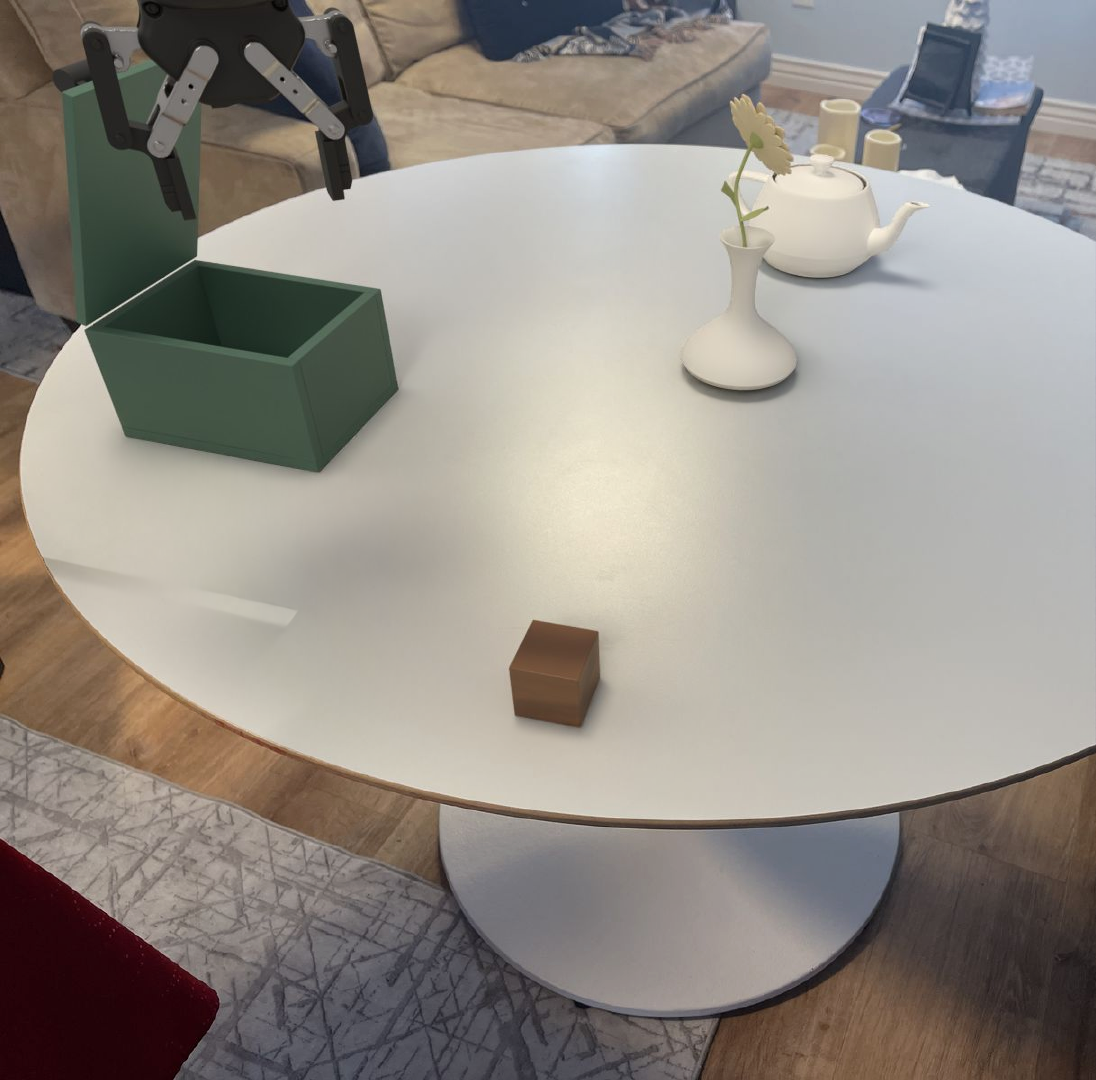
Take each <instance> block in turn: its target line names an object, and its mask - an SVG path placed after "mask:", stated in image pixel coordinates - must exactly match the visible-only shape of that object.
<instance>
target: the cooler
mask: <svg viewBox="0 0 1096 1080" xmlns="http://www.w3.org/2000/svg"><path fill="white" fill-rule="evenodd" d="M83 331H84V334H85V336H86V339H87V342H88V344H89V346H90V349H91V351H92V354H93V357H94V359H95V361H96V365H97V367H98V369H99V372H100V375H101V377H102V379H103V382H104V385H105V387H106V390H107V393H108V395H109V398H110V400H111V403H112V405H113V408H114V410H115V413H116V416H117V418H118V421H119V423H120V426H121V429H122V431H123V434H124V436H125V437H128V438H134V439H139V440H145V441H149V442H155V443H159V444H160V443H161V444H165V445H170V446H176V447H181V448H186V449H193V450H197V451H203V452H209V453H213V454H217V455H223V456H230V457H235V458H240V459H245V460H251V461H256V462H262V463H266V464H272V465H277V466H283V467H287V468H294V469H298V470H299V469H300V470H304V471H309V472H314V473H320V472H321V471H322V470H323V469H324V467H325V466H327V465H328V463H329V462H330V461H331V460H332V459H333V458H334V457H335V456H336V455H337V454H338V453H339V452H340V450H342V448H344V446H345V445H346V444H348V443H349V441H350V440H351V439H352V438H354V436H355V435H356V434H357V432H359V431H360V429H361V428H362V427H363V426H365V425H366V423H368V422H369V420H370V419H371V418H372V417H373V416H374V415H375V414H376V413H377V412H378V411H379V410H380V409H381V408H382V407H383V406H384V404H385V403H386V402H388V400H389V399H390V398H391V397H392V396H393V395H394V394H395V393H396V392H397V391H398V390H399V384H398V379H397V378H398V377H397V373H396V367H395V362H394V356H393V351H392V346H391V339H390V334H389V329H388V323H387V317H386V311H385V306H384V299H383V295H382V289H381V288H377V287H370V286H365V285H364V286H363V285H358V284H351V283H346V282H345V283H344V282H339V281H338V282H337V281H332V280H326V279H320V278H313V277H308V276H300V275H294V274H290V273H289V274H288V273H281V272H276V271H270V270H269V271H268V270H262V269H257V268H256V269H255V268H251V267H243V266H238V265H230V264H225V263H220V262H219V263H218V262H212V261H205V260H199V259H193V260H191V261H190V262H188V264H187V263H186V264H185V265H183V266H181V267H180V268H178V269H177V270H175V271H173V272H172V273H170V274H169V275H167V276H166V277H164V278H162V279H161V280H159V281H158V282H156V283H155V284H153V285H151V286H150V287H148V288H147V289H145V290H143V291H142V292H140V293H139V294H137V295H136V296H134V297H132V298H131V299H129V300H128V301H126V302H125V303H123V304H121V305H120V306H118V307H117V308H115V309H113V310H112V311H110V312H109V313H107V314H106V315H104V316H102V317H101V318H99V319H98V320H96V321H95V322H93V324H90V325H89V326H87V327H86V328H85V329H84V330H83Z"/></svg>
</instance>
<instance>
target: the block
mask: <svg viewBox="0 0 1096 1080" xmlns="http://www.w3.org/2000/svg"><path fill="white" fill-rule="evenodd" d="M599 633H600V632H599V631H598V630H594V629H589V628H583V627H578V626H572V625H565V624H561V623H554V622H549V621H544V620H536V619H532V620H531V622H530V624H529V626H528V628H527V630H526V633H525V635H524V637H523V639H522V641H521V643H520V645H519V647H518V649H517V651H516V653H515V655H514V657H513V659H512V661H511V663H510V665H509V667H508V672H509V673H508V674H509V681H510V688H511V697H512V706H513V712H514V713H513V714H514V716H516V717H520V718H527V719H532V720H536V721H537V720H538V721H543V722H547V723H553V724H559V725H564V726H569V727H573V728H580V729H581V728H582V726H583V723H584V721H585V718H586V716H587V713H588V710H589V708H590V705H591V703H592V701H593V697H594V695H595V693H596V691H597V687H598V686H599V683H600V680H601V664H600V663H601V662H600V661H601V657H600V635H599Z"/></svg>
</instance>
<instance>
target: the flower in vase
mask: <svg viewBox="0 0 1096 1080" xmlns="http://www.w3.org/2000/svg"><path fill="white" fill-rule="evenodd" d="M729 106H730V108H731V109H730V112H731V115H732V118H731V119H732V122H733V125H734V126H735V128H736V129H737V130H738V131H739V135H740V137H741V139H742V140H743V142H745V144H746V147H747V149H746V150H745V151H746V152H745V153H744V156H743V158H742V161H741V164H740V166H739V168H738V170H739V171H738V174H737V177H736V180H735V185H734V192H733V190H732V189H731V188H730V186H729V185H728V183H727V182H728V181H726V180H724V182H723V185H722V187H721V188H720V192H722V193H723V194H725V195H726V196H727V197H728V198H729V199H730V200H731V202H732V204H733V203H734V204H733V206H734V205H735V206H736V207H735V206H734V207H735V209H736V213H737V218H738V222H739V225H738V226H737V225H735V226H730V227H727V228H725V229H723V230H721V231H720V232H719V235H718V239H719V240H720V242H721V243H722V245H723V246H724V248H725V250H726V252H727V255H728V258H729V264H730V273H731V291H730V299H729V304H728V307H727V308H726V310H725V311H724V312H723V313H722V314H720V315H718V316H717V317H715V318H713V319H711V320H709V321H708V322H705V323H704V324H703V325H701V326H699V327H698V328H697V329H695V330H694V331H693V332H692V333H691V334H689V336H688V337H686V339H685V340H684V342H683V345H682V347H681V349H680V353H679V356H680V361H681V363H682V364H683V366H684V367H685V369H686V370H687V371H688V372H689V373H690V375H691V376H693V377H694V378H696V379H697V380H699V381H701V382H702V383H705V384H707V385H709V386H713V387H715V388H721V389H725V390H726V389H727V390H734V391H752V390H762V389H766V388H769V387H773V386H776V385H778V384H779V383H782V382H783V381H785V380H786V379H787V378H788V377H789V376H790V375H791V374H792V373H793V372H794V370H795V369H796V366H797V363H798V359H797V354H796V351H795V348H794V346H793V344H792V343H791V342H790V341H789V340H788V339H787V337H786V336H785V335H784V334H783V332H781V331H780V330H779V329H778V328H776V327H775V326H774V325H772V324H771V323H769V322H768V321H766V320H765V319H764V318H763V317H762V316H761V315H760V314H759V312H758V310H757V309H756V287H757V285H756V284H757V280H758V274H759V269H760V266H761V262H762V261H763V259H764V258H763V256H764V254H765V253H766V251H767V250H768V248H769V247H770V246H771V245H772V244H773V243H774V241H775V237H774V236H773V234H771V233H770V232H768V231H766V230H764V229H761V228H757V227H751V226H748V225H744V222H747V220H750V219H752V218H754V217H756V216H758V215H759V214H761V213H762V212H764V211H766V210H768V209H769V207H768V206H767V207H766V208H761V209H758V210H755V211H753V212H750V213H748V214H747V215H745V216H744V217H743V216H742V215H741V211H740V206H739V201H738V184H740V180H741V179H740V177H741V174H742V171H743V170H745V169H744V168H745V166H746V163H747V162H748V158H749V157H750V154H751V152H753V154H754V156H755V157H756V159H757V160H758V161H759V162H762V164H763V165H764V166H765V168H767V169H768V170H769V171H772V172H774V173H775V174H777V175H780V174H781V175H783V176H785V175H786V173H787V174H791V173H792V171H791V169H790V167H789V166H791V164H792V162H793V163H794V161H795V159H794V156H793V155H792V153H790V150H791V149H790V146H789V143H787V142H786V141H785V140H783V139H785V137H786V132H785V130H784V128H783V127H781V126H779V125H776V124H775V120H774V119H773V117H772V116H770V115H767V109H766V107H765V105H764V104H763V102H761V101H759V102H757V104H756V108H755V105H754V103H753V101H752V99H751V97H749V95H746V94H745V93H742V94H741V97H740V98H739V99H738V98H737V97H736V96H734V97H733V100H730V101H729Z"/></svg>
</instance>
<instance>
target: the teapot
mask: <svg viewBox="0 0 1096 1080" xmlns="http://www.w3.org/2000/svg"><path fill="white" fill-rule="evenodd" d="M834 163H835V158H834V157H833V156H831V155H829V154H823V153H816V154H812V155H810V157H809V161H808V162H793V163H790V164H791V166H789V167H790V169H791V171H792V173H791V174H787V173H786V175H785V176H783V175H781V174H780V175H777V174H775V173H774V172H773V171H772V172H770V174H768V173H765V172H760V171H754V170H749V169H743V171H742V174H741V177H740V180H749V181H753V182H758V183H763V186H762V188H761V190H760V192H759V194H758V195H757V197H756V200H755V201H754V204H753V206H752V208H750V207H749V205H748V204H747V203H746V201H745V199H744V198H743V195H742V193H741V190H740V185H739V184H740V183H739V184H738V201H739V206H740V211H741V215H742V218H743V217H744V216H745V215H747V214H748V213H750V212H753V211H755V210H758V209H761V208H766V207H767V206H768V207H769V209H768V210H766V211H764V212H762V213H761V214H759V215H758V216H756V217H754V218H752V219H750V220H746V222H748V224H747V226H751V227H757V228H761V229H764V230H766V231H768V232H770V233H771V234H773V236H774V237H775V241H774V243H773V244H772V245H771V246H770V247H769V248H768V250H767V251H766V253H765V254H764V256H763V258H762V259H764V260H765V261H766V262H767V264H768V265H770V266H771V267H773V268H775V269H776V270H779V271H781V272H783V273H787V274H790V275H794V276H799V277H804V278H818V279H819V278H820V279H821V278H834V277H840V276H843V275H846V274H850V273H851V272H852V271H854V270H855V269H857V268H858V267H859V266H861V265H862V264H864V263H865V262H867V261H868V260H869V259H870V258H872V257H874V256H878V255H880V254H883V253H885V252H888V251H889V250H890V249H891V248H892V247H893V246H894V245H895V244H896V243H897V242H898V239H899V237H900V236H901V234H902V232H903V230H904V228H905V225H906V224H907V222H908V221H909V219H910V218H911V217H912V216H913V214H915V213H916V212H918V211H920V210H923V209H927V208H930V207H931V204H929V203H926V202H922V201H915V200H912V201H911V200H910V201H906V202H905V203H903V204H902V205H901V206H899V208H898V209H897V211H896V212H895V214H894V216H893V218H892V219H891V221H890V222H889V224H887V225H886V226H884V227H881V222H880V216H879V211H878V207H877V204H876V200H875V196H874V193H873V190H872V186H871V184H870V181H869V179H868V178H866V176H865V175H863V174H861V172H858V171H856V170H854V169H851V168H848V167H845V166H841V165H837V164H834ZM738 171H739V169H738V170H735V171H733V172H730V173H729V176H728V178H727V181H726V182H727V183H728V185H729V186H730V188H731V189H732V190H733V192H734V185H735V180H736V177H737V174H738ZM732 204H733V206H734V207H735V208H736V206H735V205H734V203H733V202H732Z"/></svg>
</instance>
